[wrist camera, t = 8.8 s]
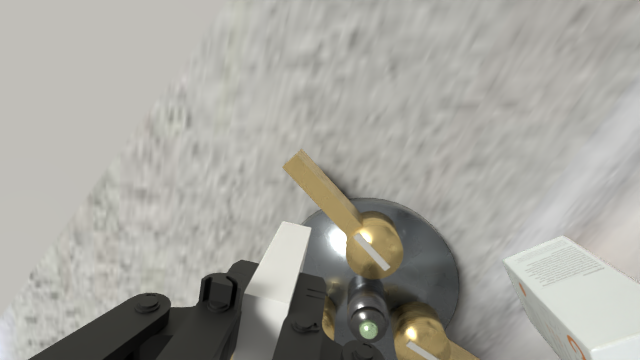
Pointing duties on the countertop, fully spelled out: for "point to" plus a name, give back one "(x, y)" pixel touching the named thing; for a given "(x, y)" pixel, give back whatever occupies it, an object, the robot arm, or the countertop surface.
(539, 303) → the small box
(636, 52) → the countertop surface
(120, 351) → the robot arm
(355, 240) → the knob
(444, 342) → the knob
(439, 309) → the tribrach plate
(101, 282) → the countertop surface
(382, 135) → the countertop surface
